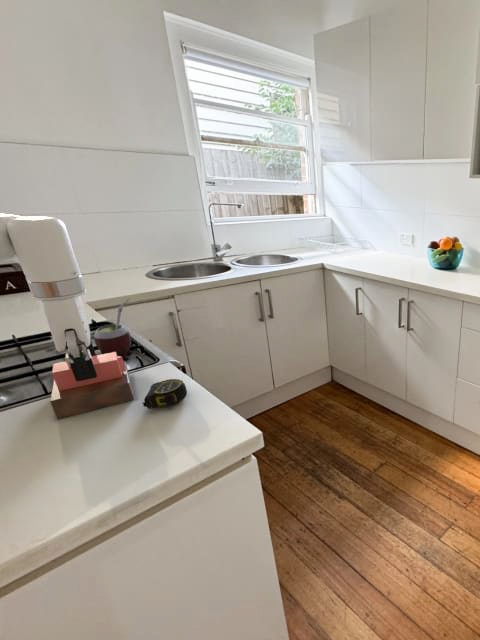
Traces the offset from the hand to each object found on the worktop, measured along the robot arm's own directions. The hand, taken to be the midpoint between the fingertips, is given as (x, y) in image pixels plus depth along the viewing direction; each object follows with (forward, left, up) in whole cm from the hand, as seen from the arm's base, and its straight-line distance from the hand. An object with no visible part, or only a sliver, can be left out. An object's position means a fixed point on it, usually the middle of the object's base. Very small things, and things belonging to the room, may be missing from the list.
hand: (87, 369), depth 77 cm
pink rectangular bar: (0, 0, -2) cm, 2 cm away
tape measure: (+11, -11, -7) cm, 17 cm away
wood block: (0, 0, -6) cm, 6 cm away
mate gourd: (+5, +19, -7) cm, 21 cm away
